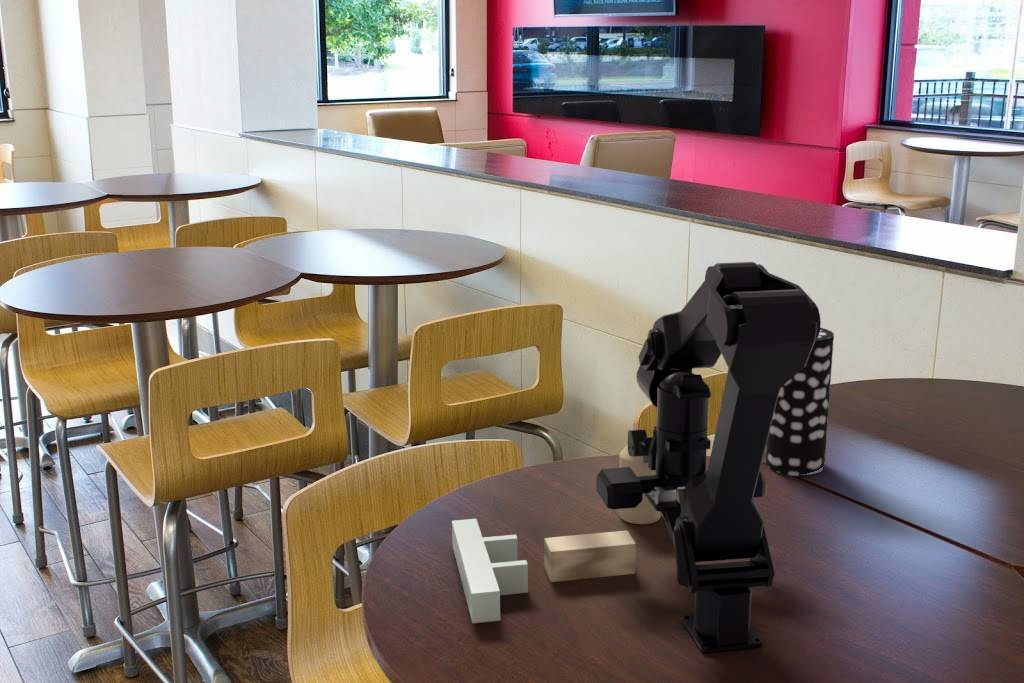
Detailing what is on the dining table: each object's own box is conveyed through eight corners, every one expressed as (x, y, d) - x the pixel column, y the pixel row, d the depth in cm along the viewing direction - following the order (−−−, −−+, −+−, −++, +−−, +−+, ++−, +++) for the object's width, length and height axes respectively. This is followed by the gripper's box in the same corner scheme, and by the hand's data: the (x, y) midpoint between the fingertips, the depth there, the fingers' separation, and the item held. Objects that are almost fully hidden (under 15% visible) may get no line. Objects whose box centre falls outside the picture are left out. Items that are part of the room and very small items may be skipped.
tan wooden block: (550, 583, 116) (550, 551, 115) (544, 569, 120) (544, 538, 119) (635, 575, 118) (635, 543, 117) (626, 561, 121) (627, 530, 120)
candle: (659, 526, 130) (661, 453, 127) (616, 523, 131) (617, 450, 128) (662, 508, 135) (664, 437, 132) (620, 505, 136) (621, 435, 133)
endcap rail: (537, 616, 109) (536, 587, 108) (472, 623, 108) (471, 593, 107) (508, 541, 126) (508, 515, 125) (452, 546, 125) (451, 520, 124)
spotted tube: (763, 473, 146) (770, 338, 141) (766, 452, 154) (774, 323, 148) (824, 478, 144) (833, 342, 138) (824, 457, 151) (833, 327, 146)
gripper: (733, 397, 125) (728, 514, 129) (585, 408, 122) (584, 527, 126) (770, 428, 115) (763, 554, 119) (609, 440, 112) (608, 569, 116)
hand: (678, 549), depth 120 cm, fingers closed
